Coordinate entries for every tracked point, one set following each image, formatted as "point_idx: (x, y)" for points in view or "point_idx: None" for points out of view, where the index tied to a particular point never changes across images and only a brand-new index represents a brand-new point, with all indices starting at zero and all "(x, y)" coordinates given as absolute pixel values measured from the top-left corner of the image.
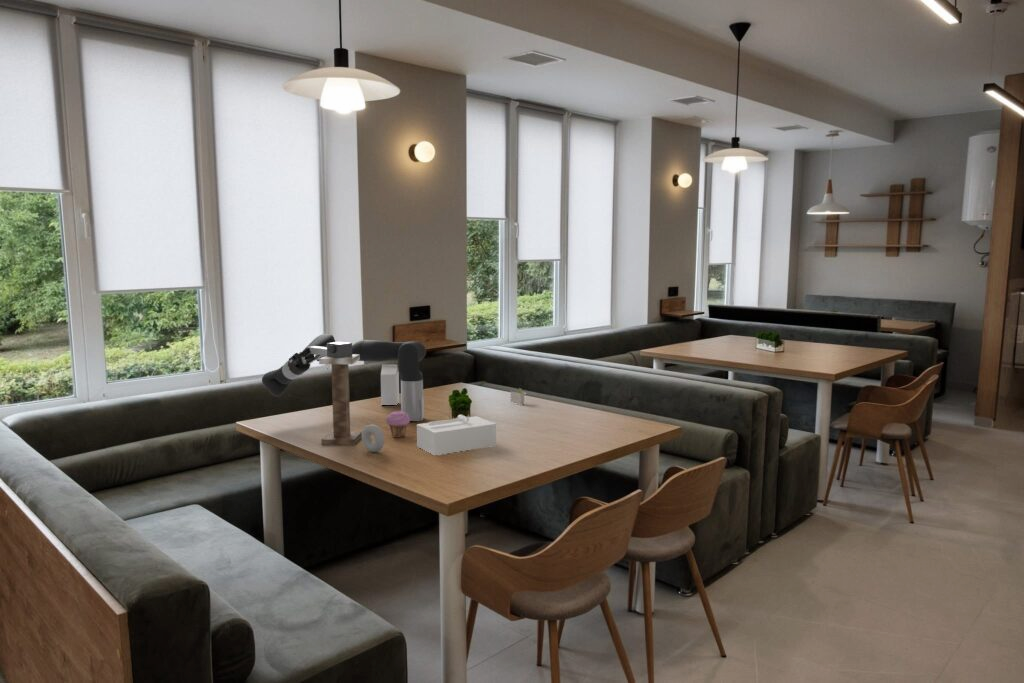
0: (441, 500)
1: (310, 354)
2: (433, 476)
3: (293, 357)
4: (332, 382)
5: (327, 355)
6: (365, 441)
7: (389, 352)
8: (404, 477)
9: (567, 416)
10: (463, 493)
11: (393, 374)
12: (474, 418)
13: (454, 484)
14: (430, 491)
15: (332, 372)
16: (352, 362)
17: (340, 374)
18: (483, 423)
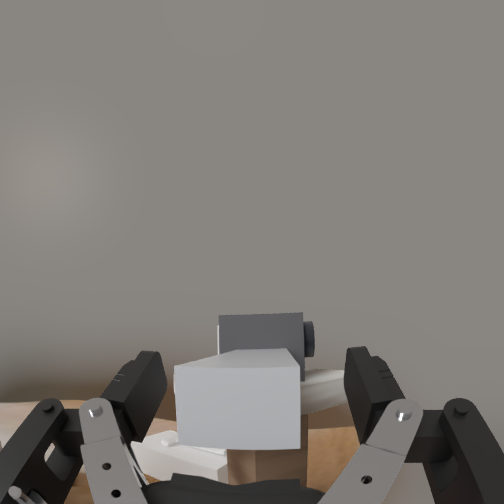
0: (354, 428)
1: (215, 487)
2: (317, 451)
3: (483, 464)
4: (305, 473)
5: (304, 375)
6: None
7: None
8: (343, 456)
9: (26, 417)
10: (330, 430)
11: None
12: (146, 441)
13: (320, 439)
14: (348, 437)
15: (305, 437)
16: None
17: None
18: (173, 435)
